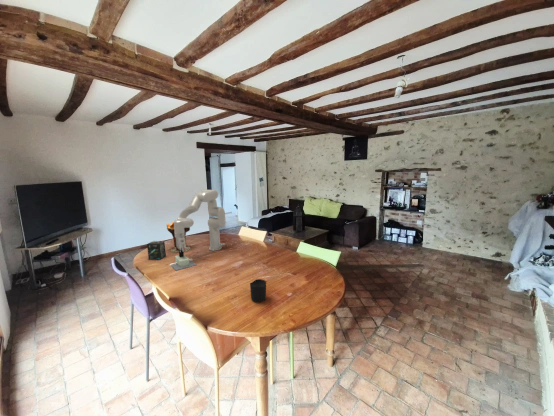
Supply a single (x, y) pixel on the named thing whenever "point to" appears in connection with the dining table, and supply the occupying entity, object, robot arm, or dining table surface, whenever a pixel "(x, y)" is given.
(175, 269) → the mat
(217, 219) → the robot arm
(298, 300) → the dining table surface
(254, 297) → the pen holder
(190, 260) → the rail
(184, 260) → the sage block
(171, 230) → the decorative vase
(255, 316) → the dining table surface
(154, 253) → the tampon box
